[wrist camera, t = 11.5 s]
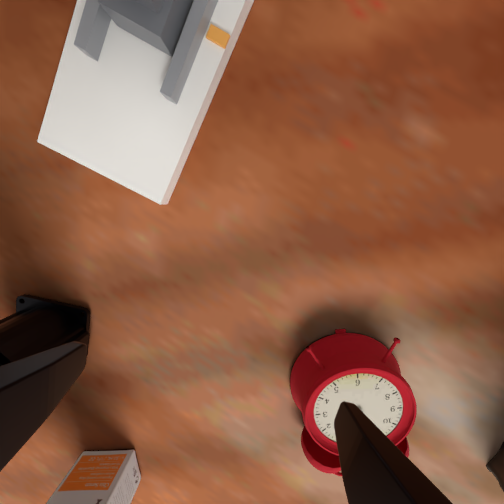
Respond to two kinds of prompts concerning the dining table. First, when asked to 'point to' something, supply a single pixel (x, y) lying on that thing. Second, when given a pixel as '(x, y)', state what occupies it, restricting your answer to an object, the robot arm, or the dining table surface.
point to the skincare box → (100, 479)
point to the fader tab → (151, 20)
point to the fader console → (138, 94)
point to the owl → (498, 466)
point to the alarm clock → (349, 393)
